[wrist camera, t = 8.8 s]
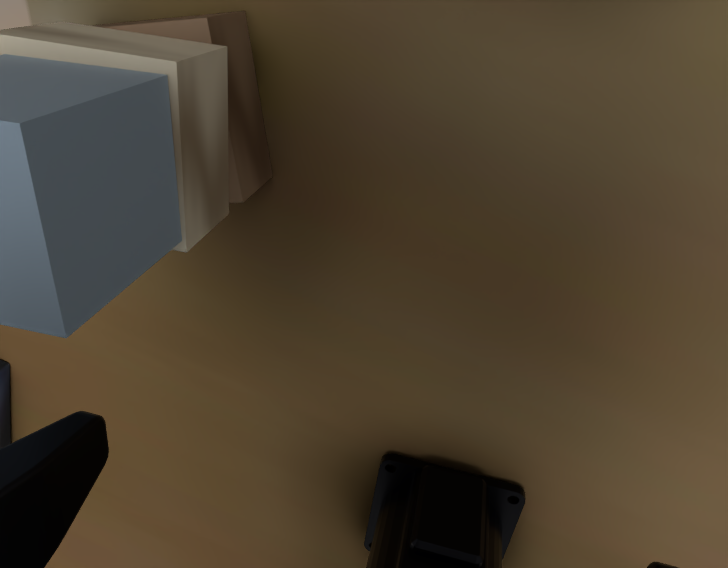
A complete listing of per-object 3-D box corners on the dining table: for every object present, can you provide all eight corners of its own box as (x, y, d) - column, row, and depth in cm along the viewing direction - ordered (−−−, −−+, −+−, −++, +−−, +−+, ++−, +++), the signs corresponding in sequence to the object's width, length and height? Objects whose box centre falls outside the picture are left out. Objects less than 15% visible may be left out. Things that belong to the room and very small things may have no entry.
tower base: (274, 174, 21) (242, 202, 19) (142, 177, 23) (96, 204, 20) (247, 10, 19) (206, 17, 16) (100, 24, 20) (41, 32, 18)
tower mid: (229, 213, 19) (186, 252, 17) (85, 186, 20) (23, 219, 17) (227, 46, 17) (176, 61, 14) (62, 21, 17) (-15, 31, 15)
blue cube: (182, 240, 16) (66, 337, 12) (40, 215, 17) (-116, 300, 13) (167, 74, 14) (19, 123, 10) (5, 54, 15) (-198, 91, 11)
